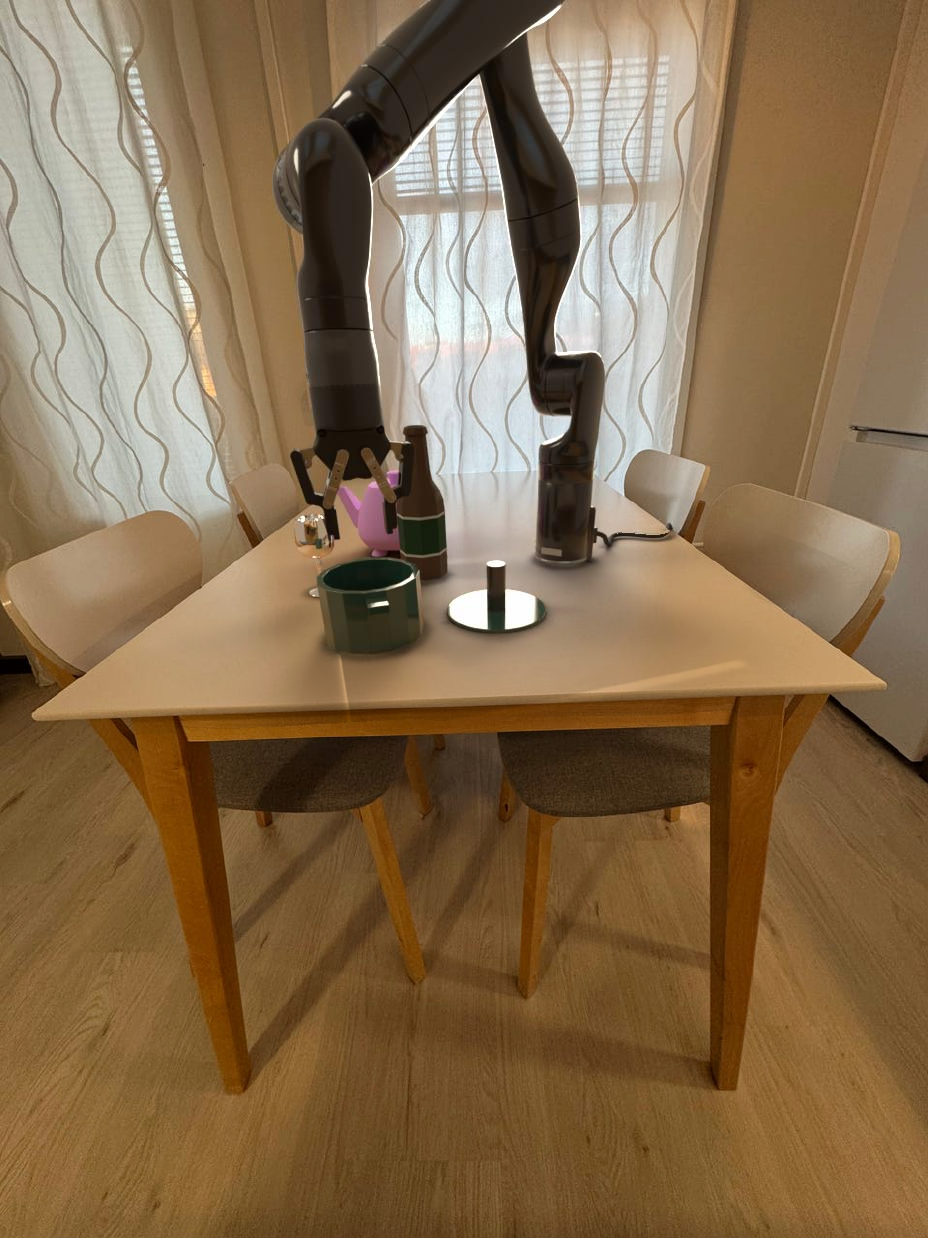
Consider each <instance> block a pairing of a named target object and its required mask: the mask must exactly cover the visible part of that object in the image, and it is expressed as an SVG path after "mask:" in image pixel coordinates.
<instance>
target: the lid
mask: <svg viewBox="0 0 928 1238" xmlns="http://www.w3.org/2000/svg"><path fill="white" fill-rule="evenodd" d="M485 565H486V571H485V572H486V589H481V590H474V591H471V592H468V593H465V594H462V595H460V596H458V597H456V598H454V599H453V600H452V601H450V603H449V604H448V606H447V616H448V619H450V621H451V622H452V623H454V624H455V625H457V626H459V627H460V628H463V629H466V630H469V631H473V632H479V633H486V634H507V633H514V632H519V631H523V630H527V629H530V628H532V627H534V626H536V625H537V624H539V623H541V622H542V621H543V619H544V618H545V617H546V613H547V612H546V611H547V608H546V605H545V603H544V602H543V601H542V600H541V599H540V598H538V597H537V596H535V595H533V594H530V593H527V592H523V591H520V590H513V589H506V588H507V587H506V586H507V581H506V579H507V575H506V574H507V573H506V572H507V564H506V562H505V561H502V560H490V561H487V562H486V564H485Z"/></svg>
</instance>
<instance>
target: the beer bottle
mask: <svg viewBox="0 0 928 1238" xmlns="http://www.w3.org/2000/svg"><path fill="white" fill-rule="evenodd" d="M402 429H403V430H402V435H404V441H407V442H410V443H411V444H412V445H413V446H414V461H413V473H412V484H411V493H410V495H409V496H404V497H402V498H400V499H398V500H397V521H398V532H399V543H400V550H399V552H400V553H399V555H400V559H401V560H406V561H408V562H410V563H413V564H415V565H416V566H417V568H418V569H419V571H420V581H421V582H423V581H424V582H425V581H430V580H436V579H441V578H442V577H443V576H445V574H447V573H448V548H447V547H448V546H447V544H448V543H447V525H446V523H447V522H446V509H445V500H444V497H443V495H442V492H441V490H440V489H439V487H438V486H437V484H436V483H435V481H434V480H433V476H432V472H431V465H430V457H429V449H428V440H427V435H428V433H429V432H428V427H427V425H426V426H425V425H423V424H412V425H406V426H404V427H403V428H402Z"/></svg>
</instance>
